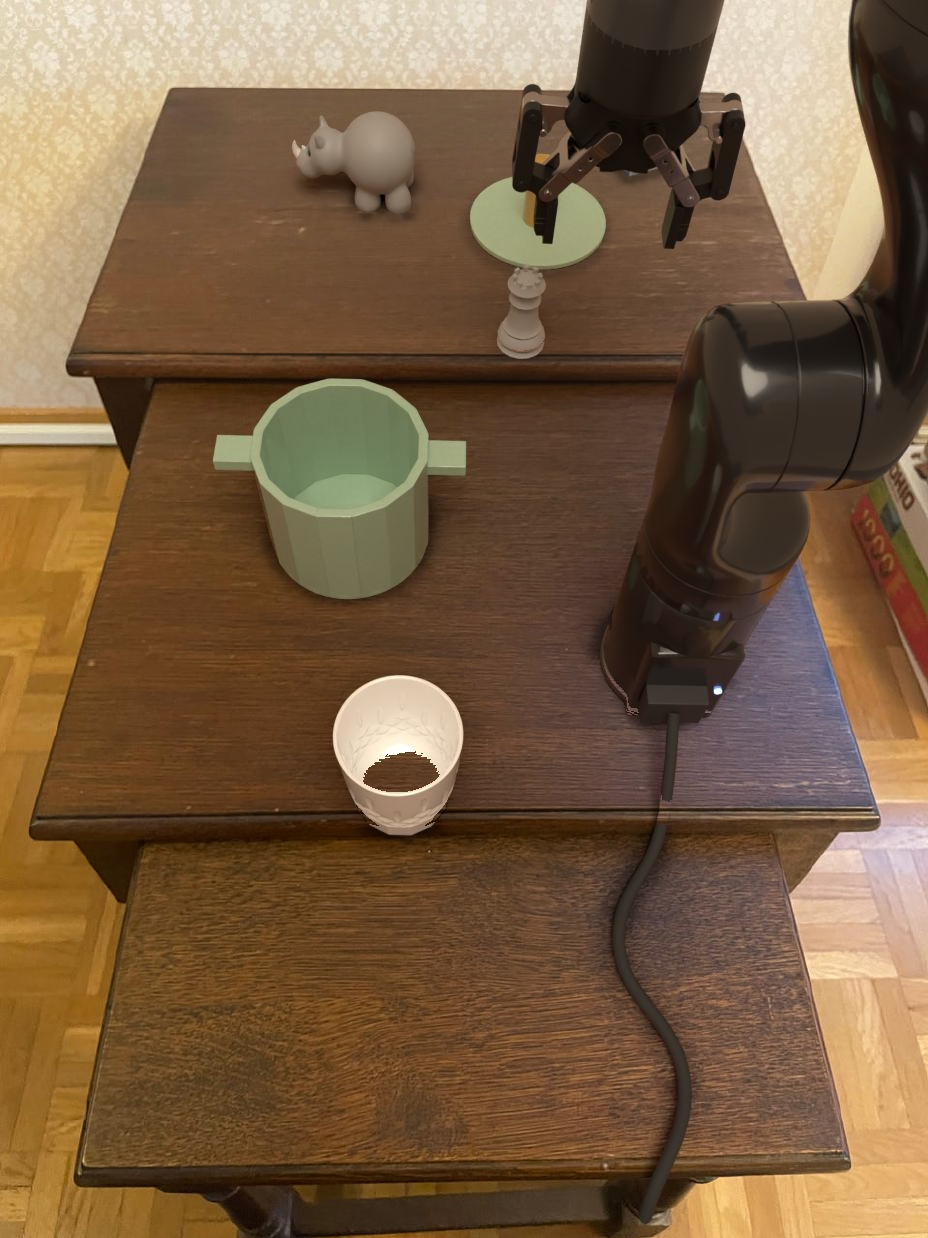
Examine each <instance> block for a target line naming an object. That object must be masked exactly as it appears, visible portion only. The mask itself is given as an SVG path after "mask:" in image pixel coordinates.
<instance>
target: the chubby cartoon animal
mask: <svg viewBox="0 0 928 1238" xmlns="http://www.w3.org/2000/svg"><path fill="white" fill-rule="evenodd" d="M318 121H319V127H318V128H317V129H316V130H315V131H314V132H313V133H312V134H311V135H310V139H309V141H308V144H307V145H303V144H302V145H301V148H300V147H299V146H298V144H297V142H296V139H293V141H292V145H291V151H292V153H293V156H294V157H295V165H296V167H297V169H298V171H299V173H300V174H301V175H302V176H303V177H304V178H307V179H316V178H318V177H320V176H322V175H324V176H337V175H338V174H340V173H344V174H345V175H347V177H348V179H349V180H350V181H351V182H352V183H353V184H354V185H355V192H354V205H355V207H356V208H357V210H359V211H361V212H365V213H370V212H374V211H377V210H378V209H379V208H380V207H381V205H382V199H381V197H382V196H384V203H385V208H386V210H387V211H389V212H390V213H392V214H394V215H402V214H405V213H407V212H409V211H410V210H411V208H412V202H413V201H412V196H411V193H410V190H409V189H410V188H411V187H412V185H413V183H414V181H415V171H414V169H415V168H414V167H415V164H416V158H417V157H416V156H417V155H416V144H415V140H414V137H413V136H412V133H411V131H410V130H409V128H408V126H407V125H406V124H405V123H404V122H403V121H402V120H401V119H399V118H398V117H396V116H395V115H393V114H391V113H388V112H386V111H379V110H378V111H368V112H365V113H363V114H361V115H358V116H357V117H356V118H354V119H353V120H352V121H351V122H350V124H349V125H348V127H347V128H346V129H345V130H344V131H343V132H341V131H340V130H338V129H336V128H333V127H331V126H329V125H328V122H327V120H326V118H325V116H323V115H322V114H321V115H319V117H318ZM381 195H382V196H381Z"/></svg>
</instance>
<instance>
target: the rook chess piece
mask: <svg viewBox="0 0 928 1238" xmlns="http://www.w3.org/2000/svg"><path fill="white" fill-rule="evenodd" d="M528 267H529V265H523V268H522V269H521V267H518V266H516V268H515V269H514V270H513V273H512V274H511V276H510V277H509V278H508V280H507V288H508V290H509V291H510V293H509V295H508V300H509V302H510V306H509V309H508V313H507V316H505V318H504V320H502V321H501V322H500V324H499V327H498V329H497V337H496V344H497V346H498V348H499V350H500V351H501V352H502V353H503V354H505V355H506V356H507V357H510V358H515V359H518V360H519V359H521V360H523V359H530V358H532V357H536V356H537V355H538V354H539V353H540V352H542V351H543V349H544V347H545V339H546V332H545V328H544V325H543V324H542V321H541V320H540V318H539V306H540V305H541V302H542V301H543V300H542V294H543V293H544V292H545V291H546V288H547V283H546V280H545V279H544V278H543V277H544V276H543V272H540V270H539V269H538V268H536V267H535V266H534V267H533V269H528ZM543 341H544V342H543ZM541 343H543V344H541ZM540 344H541V345H540ZM539 345H540V346H539ZM505 346H506V347H505ZM538 346H539V347H538ZM537 347H538V348H537ZM508 348H509V349H508ZM534 348H537V349H535V350H532V351H529V352H515V351H512V349H514V350H517V351H524V350H530V349H534ZM510 349H511V350H510Z"/></svg>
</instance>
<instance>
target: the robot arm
mask: <svg viewBox="0 0 928 1238" xmlns="http://www.w3.org/2000/svg"><path fill="white" fill-rule="evenodd" d="M725 1H726V0H586V3H585V10H584V11H585V12H584V19H583V26H582V32H581V40H580V46H579V54H578V61H577V67H576V68H577V69H576V76H575V77H576V78H575V81H574V85H573V86H572V88H571V89H570V91H569V93H568V94H567V95H566V96H560V95H559V96H558V95H549V94H543V91H542V88H541V87H540V85H538V84H535V83H529V84H527V85H526V86H524V88H523V89H522V93H521V99H520V106H519V111H518V119H517V124H516V125H517V126H516V130H515V131H516V132H515V140H514V146H513V152H512V159H511V171H512V172H511V177H512V187H513V189H514V190H515V191H517V192H520V193H522V192H526V191H527V190H528V191H530V192H532V193H534V194H535V195H536V198H535V207H534V232H535V234H536V236H542V244H553V237H554V230H555V223H556V215H557V208H558V195H559V194H560V193H561V192H563V191H564V190H565V189H566V188H567V187H568V186H569V185H570V184H571V183H573V184H576V185H577V184H578V183H579V182H581V180H583V179H584V178H585V177H586V176H587V175H588V174H589V173H590V172H591V171H592V170H593V169H595V168H598V169H599V173H615V172H619V171H624V170H626V171H630V172H633V173H640V174H645V175H646V174H647V175H648V173H649V171H648V170H649V169H653V168H655V167H657V168H658V169H657V170H658V171H659V173H660V175H661V176H662V178H663V179H664V181H665V183H666V184H667V186H668V187H669V188H670V189H671V190H670V193H669V196H668V197H669V198H668V202H667V205H666V210H665V213H664V217H663V221H662V225H661V241H662V243H661V244H662V248H663V249H664V250H674V249H675V248H676V244H677V242H683V240H685V238H686V237H687V234H688V232H689V231H688V230H689V227H690V224H691V220H692V217H693V214H694V211H695V207H696V205H698V204H699V202H701V201H702V200H705V199H708V198H711V199H712V200H713V201H723V200H724V199H726V198H727V197H728V196H729V193H730V190H731V186H732V182H733V178H734V175H735V170H736V165H737V162H738V159H739V153H740V149H741V145H742V141H743V137H744V133H745V130H746V118H745V111H744V107H743V102H742V96H741V95H740V94H739V93H737V92H730V93H727V94H726V95H724V96H723V98H722V99H721V101H719V102H714V101H713V102H701V101H700V97H701V93H702V88H703V84H704V81H705V77H706V74H707V70H708V65H709V62H710V58H711V55H712V51H713V46H714V42H715V38H716V34H717V32H718V27H719V23H720V19H721V16H722V12H723V9H724V5H725ZM847 25H848V29H847V52H848V65H849V72H850V73H849V74H850V80H851V85H852V90H853V94H854V98H855V103H856V107H857V112H858V116H859V120H860V123H861V127H862V131H863V135H864V138H865V143H866V146H867V150H868V152H869V155H870V159H871V162H872V166H873V170H874V172H875V176H876V181H877V185H878V189H879V195H880V199H881V208H882V215H883V228H882V233H881V237H880V240H879V243H878V246H877V249H876V251H875V253H874V256H873V259H872V261H871V263H870V265H869V267H868V269H867V271H866V273H865V275H864V277H863V278H862V280H861V281H860V282H859V284H858V286H856V288H855V289H853V291H852V292H850V293H849V294H848V295H846V296H845V297H843V298H837V299H813V300H811V299H810V300H809V299H808V300H774V301H773V300H770V301H769V300H765V301H764V300H763V301H737V302H736V301H735V302H734V301H733V302H726V303H725V302H724V303H719V304H718V305H715V306H712V307H711V308H710V309H708V310H707V311H706V312H705V313H704V314H703V315H701V317H700V319H699V320H698V321H697V323H696V324H695V325H694V328H693V329H692V331H691V333H690V335H689V337H688V340H687V342H686V345H685V348H684V350H683V354H682V358H681V361H680V365H679V369H678V373H677V377H676V381H675V386H674V391H673V395H672V400H671V403H670V410H669V412H668V417H667V420H666V425H665V428H664V433H663V435H662V439H661V443H660V445H659V449H658V454H657V459H656V464H655V469H654V475H653V481H652V486H651V493H650V497H649V500H648V504H647V507H646V510H645V513H644V516H643V519H642V522H641V526H640V528H639V531H638V534H637V537H636V540H635V543H634V546H633V549H632V552H631V554H630V558H629V561H628V565H627V567H626V570H625V572H624V573H625V574H624V575H623V576H624V577H623V579H622V582H621V586H620V589H619V591H618V595H617V598H616V600H615V603H614V606H613V608H612V610H611V612H610V614H609V616H608V618H607V620H606V621H605V623H604V627H603V630H602V632H604V634H603V636H602V640H601V643H600V648H599V649H600V650H599V661H600V666H601V671H602V673H603V676H604V678H605V680H606V682H607V684H608V685H609V687H610V689H611V690H612V691H613V692H614V693H615V694H616V696H617V697H618V698H619V699H620V700H622V701H623V704H624V710H625V709H627V711H629V710H628V708H627V700H626V697H625V696H624V695H623V694H622V693H621V692H620V691H619V690H618V689H617V688H616V687H615V686H614V684H613V683H612V682H611V680H610V678H611V677H612V678H613V679H614V681H615V682H616V684H618V685H619V687H621V688H622V690H624V692H625V693H626V694H627V697H628V703H629V706H630V707H631V708H637V709H638V712H639V713H637V712H634V711H631V712H634V714H638V715H639V716H638V721H639V723H661V724H662V723H666V730H665V731H666V732H665V745H664V746H665V747H664V761H663V770H662V777H661V785H660V786H661V787H660V794H661V795H662V800H665V801H668V802H670V800H672V801H673V797H674V789H675V780H676V771H677V761H678V750H679V749H678V746H679V734H680V733H679V731H680V724H699V723H700V722H701V720H702V718H709V717H710V716H711V715H712V714H713V711H714V710H715V709H716V706H717V705H718V703H719V702H720V700H721V698H722V697H723V695H724V694H725V692H726V691H727V688H728V687H729V686H730V684H731V683H732V681H733V679H734V678H735V676H736V674H737V673H738V671H739V669H740V667H741V666H742V664H743V663H744V661H745V660H746V659H745V658H746V653H745V647H746V645H747V643H748V641H749V640H750V638H751V636H752V634H753V633H754V631H755V629H756V628H757V626H758V625H759V623H760V621H761V620H762V618H763V617H764V615H765V613H766V611H767V609H769V606H770V605H771V603H772V601H773V600H774V598H775V597H776V595H777V593H778V592H779V590H780V588H781V587H782V585H783V583H784V582H785V581H786V579H787V577H788V575H789V574H790V572H791V570H792V568H793V567H794V565H795V564H796V563H797V561H798V558H799V557H800V555H801V553H802V552H803V550H804V548H805V546H806V542H808V538H809V534H810V529H811V510H810V507H809V503H808V499H807V497H806V494H805V493H804V492H822V491H823V492H824V491H827V492H828V491H843V490H848V489H854V488H858V487H861V486H865V485H869V484H871V483H873V482H875V481H877V480H879V479H881V478H882V477H884V475H886V474H887V473H888V472H889V471H891V470H892V468H894V466H895V465H896V464H897V463H898V462H899V461H900V460H901V459H902V457H903V456H904V454H905V453H906V452H907V450H908V449H909V447H910V446H911V445H912V443H913V441H914V440H915V438H916V436H917V435H918V433H919V432H920V430H921V428H922V427H923V424H924V422H925V421H926V420H927V419H926V418H928V0H851V3H850V8H849V13H848V24H847ZM559 121H564V124H565V126H566V128H567V129H568V132H566V134H565V135H564V136H563V137H562V138H561V139H560V141H559V143H558V146H557V147H556V149H554V151H553V152H551V154H549V155H550V156H549V157H548V158H547V159H546V160H545V161H544V162H543V163H542V164H540V163H537V162H535V158H536V155H537V151H538V145H539V141H540V138H545V137H546V136H547V135H548V134H549V133H550V132H552V129H553V127H554V125H555V124H556V123H558V122H559ZM700 126H702V127H704V128H705V129H706V130H707V131H706V132H707V137H708V139H709V140H710V141H711V143H712V144H711V147H710V152H709V157H708V162H707V166H706V167H705V168H701V169H698V170H696V169H695V168H694V166H693V164H692V162H691V160H690V159H689V157H688V155H687V153H686V152H685V148H684V144H685V142H687V141H688V140H689V139H690V138H691V137H692V136H693V135H694V134H695V133H696V132H697V131H698V130H699V128H700ZM608 622H609V623H608ZM603 664H604V665H603ZM604 667H605V668H606V670H607V673H609V674H608V675H610V676H611V677H610V678H609V677H608V675H607V673H606V670H605V668H604ZM625 704H626V705H625ZM706 710H708V711H712V710H713V711H712V712H711V713H705V711H706ZM627 711H625V714H626V713H630V712H627ZM630 714H632V713H630ZM634 714H632V715H633V716H632V717H637V716H636V715H634ZM672 796H673V797H672ZM668 826H669V825H668ZM668 826H667V825H666V824H663V823H661V824H658V825H657V821H656V820H655V825H654V829H653V833H652V836H651V838H650V842H649V845H648V847H647V849H646V852H645V853H644V856H643V857H642V860H641V861H640V863H639V865H638V866H637V868H636V870H635V872H634V874H633V875H632V877H631V878H630V880H629V881H628V883H627V885H626V887H625V888H624V890H623V892H622V894H621V896H620V898H619V900H618V904H617V906H616V909H615V914H614V918H613V921H612V930H611V947H612V953H613V959H614V963H615V966H616V969H617V972H618V975H619V976H620V978H621V981H622V983H623V985H624V986H625V988H626V990H627V991H628V993H629V995H630V996H631V997H632V999H633V1001H634V1002H635V1003H636V1004H637V1006H638V1007H639V1008H640V1010H641V1011H642V1013H643V1014H644V1015H645V1016H646V1018H647V1019H648V1020H649V1022H650V1023H651V1024H652V1026H653V1027H654V1028H655V1030H656V1032H657V1033H658V1034H659V1037H660V1038H661V1039H662V1041H663V1043H664V1044H665V1046H666V1048H667V1051H668V1052H669V1054H670V1057H671V1060H672V1063H673V1066H674V1070H675V1077H676V1084H677V1085H676V1086H677V1099H676V1100H677V1101H676V1108H675V1114H674V1119H673V1123H672V1126H671V1129H670V1132H669V1136H668V1138H667V1141H666V1143H665V1145H664V1147H663V1150H662V1152H661V1154H660V1156H659V1158H658V1160H657V1163H656V1165H655V1168H654V1170H653V1172H652V1174H651V1176H650V1179H649V1181H648V1183H647V1186H646V1189H645V1191H644V1193H643V1197H642V1200H641V1202H640V1205H639V1208H638V1211H637V1215H638V1216H637V1217H638V1220H639V1222H640V1224H643V1225H648V1224H649V1223H651V1221H652V1220H653V1219H652V1218H653V1216H654V1213H655V1210H656V1207H657V1205H658V1202H659V1199H660V1196H661V1194H662V1192H663V1189H664V1186H665V1185H666V1183H667V1179H669V1175H670V1173H671V1171H672V1168H673V1167H674V1165H675V1162H676V1159H677V1157H678V1155H679V1153H680V1150H681V1147H682V1145H683V1142H684V1139H685V1137H686V1133H687V1130H688V1127H689V1122H690V1117H691V1111H692V1110H691V1109H692V1096H693V1091H692V1079H691V1072H690V1067H689V1062H688V1060H687V1056H686V1053H685V1051H684V1048H683V1046H682V1043H680V1040H679V1038H678V1036H677V1035H676V1033H675V1031H674V1030H673V1028H672V1027H671V1025H670V1024H669V1022H668V1021H667V1020H666V1018H665V1017H664V1015H663V1013H661V1012H660V1010H659V1009H658V1007H657V1006H656V1005H655V1003H654V1002H653V1001H652V999H651V998H650V997H649V996H648V995H647V993H646V992H645V990H644V989H643V987H642V986H641V984H640V983H639V981H638V980H637V978H636V976H635V974H634V972H633V970H632V968H631V965H630V962H629V959H628V955H627V949H626V927H627V926H626V925H627V919H628V916H629V913H630V910H631V907H632V905H633V903H634V901H635V899H636V897H637V895H638V893H640V892H639V891H640V890H641V889H642V887H643V886H644V883H645V882H646V880H647V878H648V876H649V875H650V873H651V871H652V870H653V868H654V865H656V861H657V859H658V857H659V855H660V853H661V851H662V847H663V844H664V842H665V838H666V834H667V831H668Z"/></svg>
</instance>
